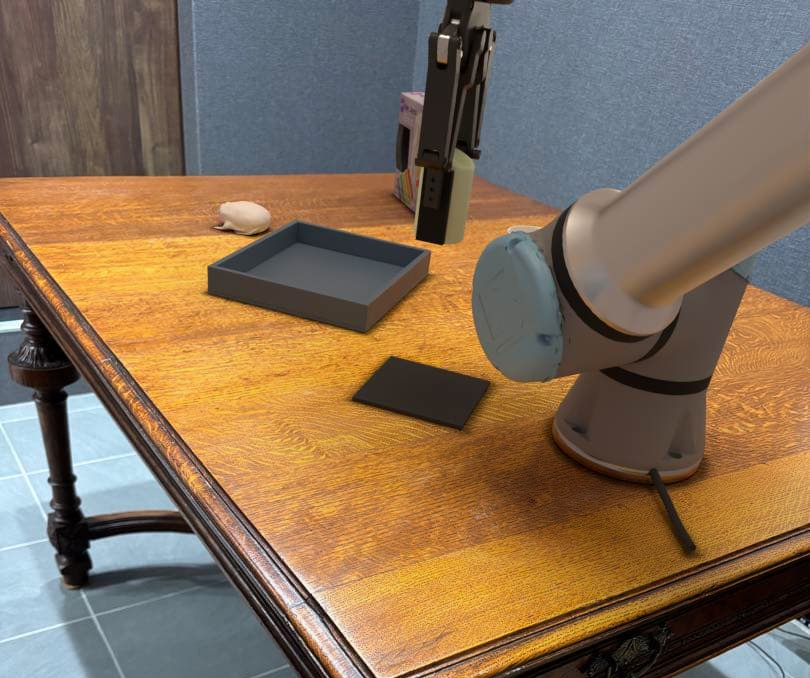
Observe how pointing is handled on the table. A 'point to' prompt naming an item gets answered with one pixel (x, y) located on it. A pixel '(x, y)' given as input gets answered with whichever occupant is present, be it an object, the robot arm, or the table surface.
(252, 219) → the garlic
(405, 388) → the mat
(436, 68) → the robot arm
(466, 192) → the candle
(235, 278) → the bin
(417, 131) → the cake pan box
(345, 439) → the table surface
